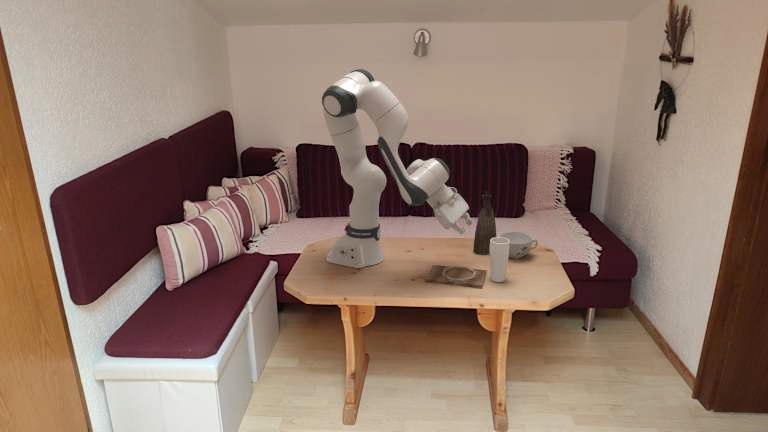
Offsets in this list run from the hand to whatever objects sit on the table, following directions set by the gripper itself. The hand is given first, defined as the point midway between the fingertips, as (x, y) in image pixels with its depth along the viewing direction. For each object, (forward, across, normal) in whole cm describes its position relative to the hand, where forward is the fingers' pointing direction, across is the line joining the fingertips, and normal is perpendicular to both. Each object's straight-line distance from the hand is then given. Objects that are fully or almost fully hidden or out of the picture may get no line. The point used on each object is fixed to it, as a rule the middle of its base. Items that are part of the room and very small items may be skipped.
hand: (467, 228), depth 191 cm
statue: (+13, +24, +13) cm, 30 cm away
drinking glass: (+21, 0, +5) cm, 21 cm away
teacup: (+23, +25, +3) cm, 34 cm away
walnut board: (+11, -4, +15) cm, 18 cm away
